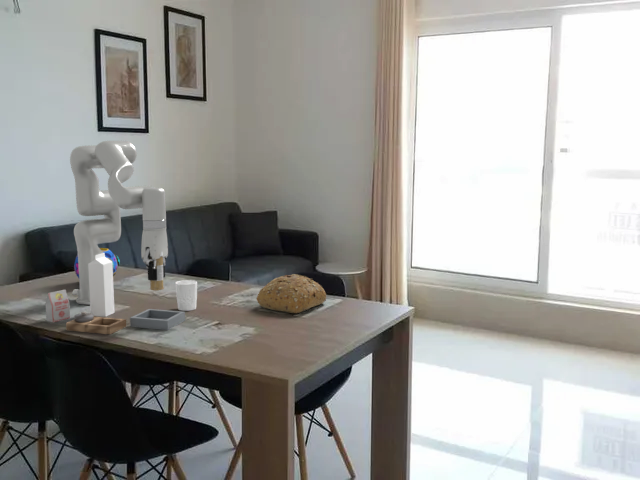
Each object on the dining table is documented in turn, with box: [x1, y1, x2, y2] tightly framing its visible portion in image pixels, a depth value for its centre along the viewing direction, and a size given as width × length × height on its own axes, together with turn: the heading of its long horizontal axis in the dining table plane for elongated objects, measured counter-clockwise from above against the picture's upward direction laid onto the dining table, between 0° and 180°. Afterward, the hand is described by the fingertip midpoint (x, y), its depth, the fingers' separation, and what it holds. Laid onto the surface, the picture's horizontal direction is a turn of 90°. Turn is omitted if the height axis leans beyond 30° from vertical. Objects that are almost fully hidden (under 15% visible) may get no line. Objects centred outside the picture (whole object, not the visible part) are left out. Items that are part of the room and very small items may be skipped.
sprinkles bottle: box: [149, 252, 165, 292], centre depth 220 cm, size 5×5×13 cm
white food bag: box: [45, 289, 71, 323], centre depth 227 cm, size 4×7×10 cm, turn 145°
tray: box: [129, 308, 186, 331], centre depth 223 cm, size 14×12×3 cm
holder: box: [65, 311, 127, 335], centre depth 217 cm, size 16×9×5 cm, turn 74°
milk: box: [88, 253, 116, 318], centre depth 233 cm, size 6×6×22 cm
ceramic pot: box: [73, 247, 121, 279], centre depth 283 cm, size 18×18×15 cm
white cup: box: [174, 279, 198, 312], centre depth 242 cm, size 8×8×10 cm
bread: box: [256, 273, 327, 314], centre depth 247 cm, size 24×21×12 cm
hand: (156, 278), depth 221 cm, fingers closed on sprinkles bottle, 4 cm apart
